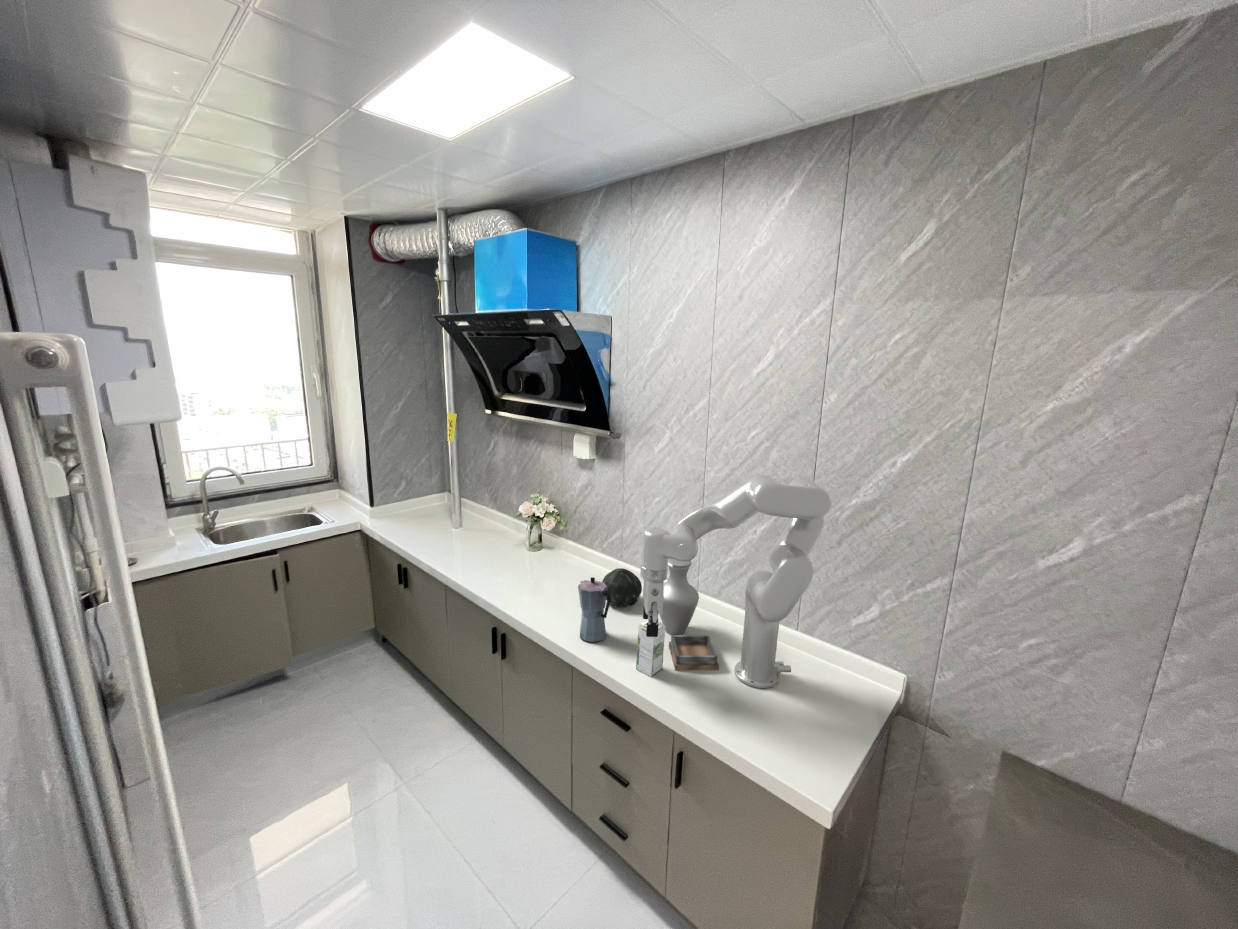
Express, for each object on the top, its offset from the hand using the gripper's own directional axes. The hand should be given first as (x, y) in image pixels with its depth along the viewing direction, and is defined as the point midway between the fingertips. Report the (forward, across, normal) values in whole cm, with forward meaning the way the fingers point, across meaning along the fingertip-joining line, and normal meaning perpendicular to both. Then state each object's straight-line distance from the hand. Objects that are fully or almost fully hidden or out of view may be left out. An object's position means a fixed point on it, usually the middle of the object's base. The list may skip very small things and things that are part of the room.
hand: (649, 627), depth 148 cm
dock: (+13, +6, -15) cm, 21 cm away
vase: (+14, +22, -12) cm, 28 cm away
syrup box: (+14, 0, -1) cm, 14 cm away
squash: (+14, +42, +5) cm, 44 cm away
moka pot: (+14, +18, +16) cm, 28 cm away
